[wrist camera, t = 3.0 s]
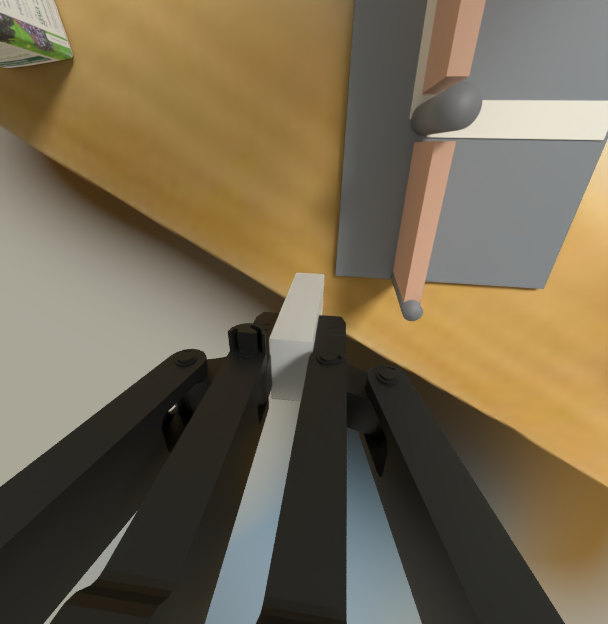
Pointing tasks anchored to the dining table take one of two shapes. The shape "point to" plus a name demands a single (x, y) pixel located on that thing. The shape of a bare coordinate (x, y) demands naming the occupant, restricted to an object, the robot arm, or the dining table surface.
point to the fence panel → (420, 222)
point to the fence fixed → (450, 69)
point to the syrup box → (31, 33)
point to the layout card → (476, 138)
